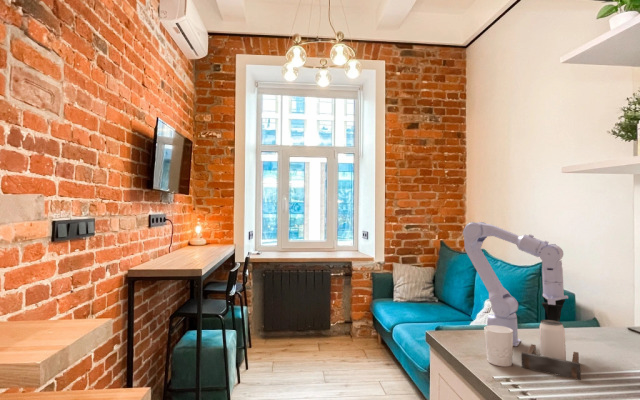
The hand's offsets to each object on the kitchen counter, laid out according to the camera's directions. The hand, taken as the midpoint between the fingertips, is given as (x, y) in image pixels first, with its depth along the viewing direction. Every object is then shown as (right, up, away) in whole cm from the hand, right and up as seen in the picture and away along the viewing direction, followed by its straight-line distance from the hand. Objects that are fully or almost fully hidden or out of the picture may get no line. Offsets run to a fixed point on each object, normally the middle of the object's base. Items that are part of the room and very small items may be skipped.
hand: (554, 323), depth 117 cm
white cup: (-22, -9, -8) cm, 26 cm away
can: (-6, -9, -9) cm, 14 cm away
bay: (-8, -9, -11) cm, 16 cm away
